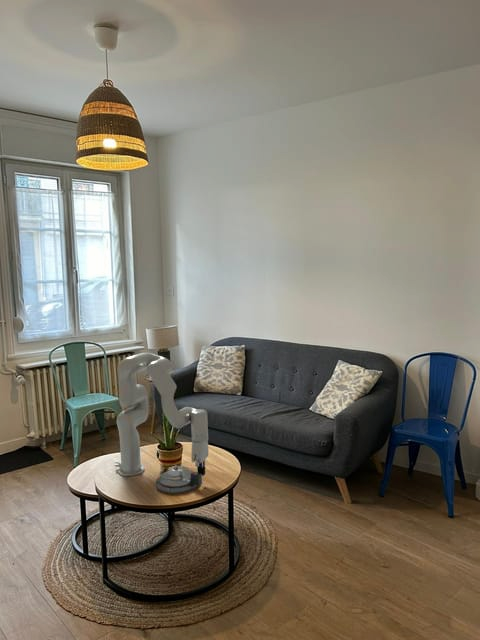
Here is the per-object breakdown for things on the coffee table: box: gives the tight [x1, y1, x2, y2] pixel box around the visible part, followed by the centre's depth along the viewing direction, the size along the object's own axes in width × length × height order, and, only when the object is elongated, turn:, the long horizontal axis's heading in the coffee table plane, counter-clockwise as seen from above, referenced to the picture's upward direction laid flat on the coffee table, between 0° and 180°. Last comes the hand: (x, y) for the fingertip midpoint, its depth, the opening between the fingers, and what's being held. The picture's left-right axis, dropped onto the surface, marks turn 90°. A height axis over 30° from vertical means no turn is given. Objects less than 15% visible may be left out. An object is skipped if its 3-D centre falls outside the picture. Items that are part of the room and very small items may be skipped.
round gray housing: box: [158, 468, 203, 488], centre depth 221 cm, size 20×17×5 cm
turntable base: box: [155, 477, 199, 495], centre depth 222 cm, size 20×20×2 cm
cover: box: [167, 465, 184, 481], centre depth 221 cm, size 8×8×4 cm
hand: (201, 474), depth 221 cm, fingers closed
